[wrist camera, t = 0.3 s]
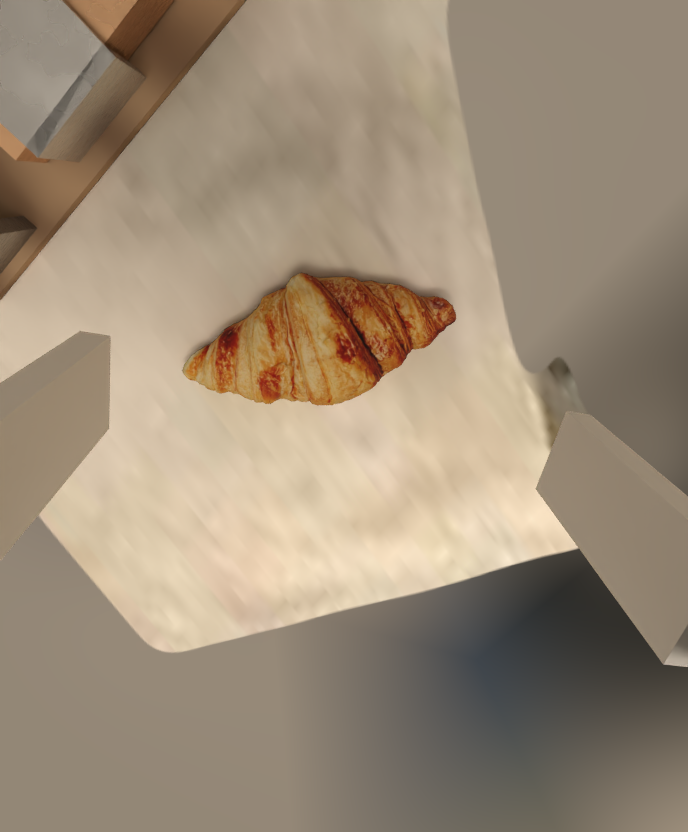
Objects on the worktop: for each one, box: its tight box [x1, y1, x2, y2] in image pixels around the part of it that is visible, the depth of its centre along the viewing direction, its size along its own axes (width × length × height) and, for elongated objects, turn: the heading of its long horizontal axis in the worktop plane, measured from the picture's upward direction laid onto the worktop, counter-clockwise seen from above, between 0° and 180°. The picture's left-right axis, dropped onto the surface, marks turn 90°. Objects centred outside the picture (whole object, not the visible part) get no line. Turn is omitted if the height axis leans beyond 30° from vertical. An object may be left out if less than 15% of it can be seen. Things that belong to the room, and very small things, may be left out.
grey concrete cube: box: [0, 0, 147, 162], centre depth 30 cm, size 7×7×6 cm
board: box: [0, 0, 246, 300], centre depth 33 cm, size 32×9×1 cm, turn 133°
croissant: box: [182, 273, 456, 405], centre depth 39 cm, size 21×10×8 cm, turn 104°
